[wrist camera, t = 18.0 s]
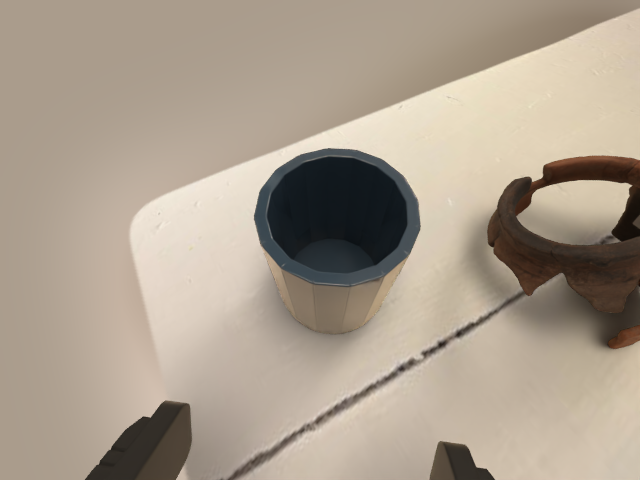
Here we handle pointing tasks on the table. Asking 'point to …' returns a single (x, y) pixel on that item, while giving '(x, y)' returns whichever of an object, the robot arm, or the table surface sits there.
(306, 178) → the cup
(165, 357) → the table surface
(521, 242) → the brown broken clay pot
